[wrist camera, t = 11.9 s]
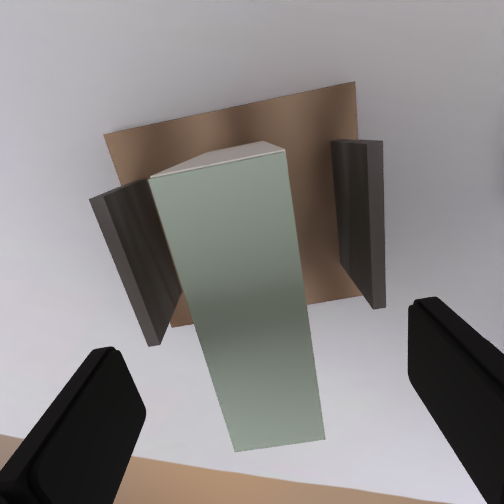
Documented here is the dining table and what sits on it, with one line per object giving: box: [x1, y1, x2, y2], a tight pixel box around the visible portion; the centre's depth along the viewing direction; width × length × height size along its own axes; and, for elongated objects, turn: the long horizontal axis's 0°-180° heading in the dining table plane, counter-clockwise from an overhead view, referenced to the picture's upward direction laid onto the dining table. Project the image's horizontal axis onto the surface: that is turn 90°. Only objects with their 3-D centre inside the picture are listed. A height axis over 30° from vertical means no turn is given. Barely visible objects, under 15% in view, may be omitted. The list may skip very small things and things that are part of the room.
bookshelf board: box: [89, 81, 386, 347], centre depth 21 cm, size 18×17×8 cm
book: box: [148, 141, 325, 452], centre depth 17 cm, size 4×12×14 cm, turn 11°
